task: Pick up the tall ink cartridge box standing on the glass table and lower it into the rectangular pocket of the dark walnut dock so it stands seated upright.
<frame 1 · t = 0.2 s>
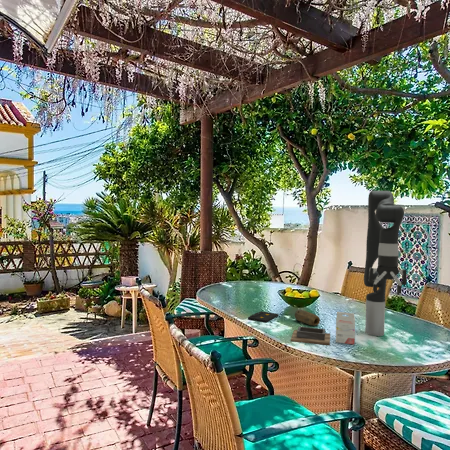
hand: (386, 293, 159), 29 cm above the table, tool pointing down, fingers open, 8 cm apart
ink cartridge box: (345, 342, 187), on the table
brown cylinder: (306, 323, 218), on the table
dock: (311, 338, 191), on the table
cassette tape: (263, 319, 228), on the table
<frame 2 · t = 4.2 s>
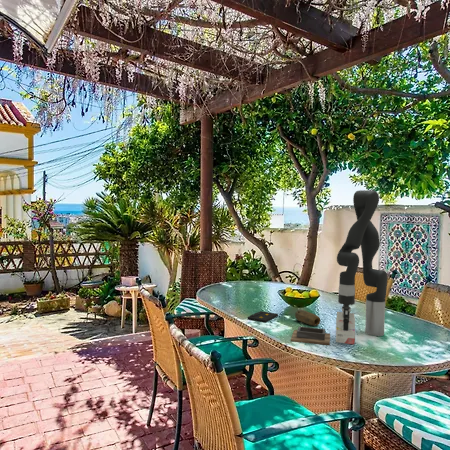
hand: (345, 328, 187), 6 cm above the table, tool pointing down, fingers closed on ink cartridge box, 5 cm apart
ink cartridge box: (345, 342, 187), on the table, touching gripper
everything else where it was.
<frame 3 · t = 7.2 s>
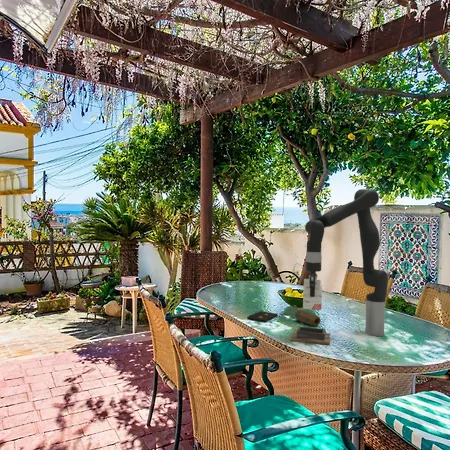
hand: (312, 295, 191), 21 cm above the table, tool pointing down, fingers closed on ink cartridge box, 5 cm apart
ink cartridge box: (312, 308, 191), point 14 cm above the table, touching gripper
everything else where it was.
when the fingers open (9 cm above the table, at t = 10.3 s): ink cartridge box drops 1 cm, resting on dock.
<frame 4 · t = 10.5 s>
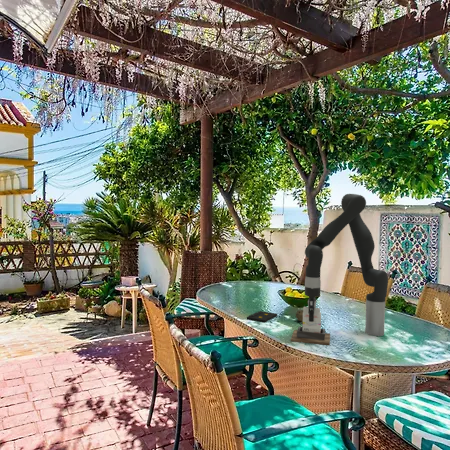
hand: (311, 319, 191), 9 cm above the table, tool pointing down, fingers open, 7 cm apart
ink cartridge box: (311, 336, 192), point 1 cm above the table, touching dock
everything else where it was.
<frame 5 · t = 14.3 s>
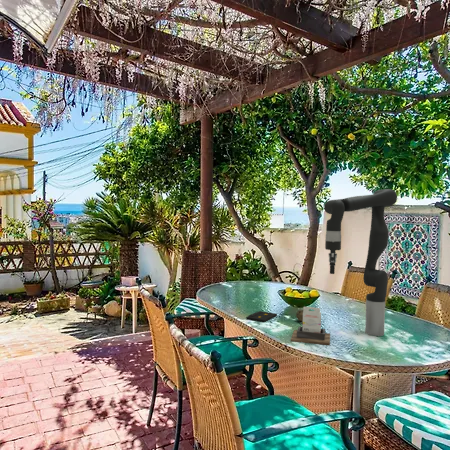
hand: (332, 272, 194), 32 cm above the table, tool pointing down, fingers open, 8 cm apart
at the end: ink cartridge box 0.4 cm off-centre on the dock, point 0.8 cm above the dock's base; ink cartridge box tilted 0°; the gripper is holding nothing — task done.
